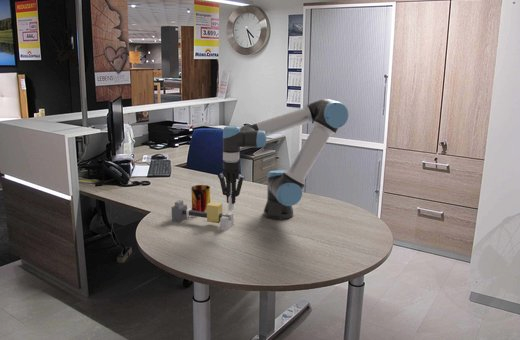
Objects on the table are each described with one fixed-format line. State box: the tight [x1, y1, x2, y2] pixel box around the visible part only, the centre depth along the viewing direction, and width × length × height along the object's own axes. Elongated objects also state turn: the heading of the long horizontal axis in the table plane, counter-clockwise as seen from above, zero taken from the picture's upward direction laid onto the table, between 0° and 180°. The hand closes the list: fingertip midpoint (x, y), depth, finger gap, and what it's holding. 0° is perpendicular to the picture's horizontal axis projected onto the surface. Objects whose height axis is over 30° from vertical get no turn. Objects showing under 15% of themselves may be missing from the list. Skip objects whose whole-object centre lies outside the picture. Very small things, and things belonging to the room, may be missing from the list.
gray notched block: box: [219, 212, 235, 232], centre depth 212 cm, size 3×8×6 cm, turn 158°
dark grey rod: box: [183, 207, 229, 220], centre depth 217 cm, size 28×4×4 cm, turn 68°
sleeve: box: [206, 201, 223, 224], centre depth 214 cm, size 6×4×8 cm
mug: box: [190, 184, 211, 212], centre depth 235 cm, size 10×14×12 cm
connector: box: [171, 199, 188, 223], centre depth 221 cm, size 5×6×9 cm
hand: (231, 209), depth 210 cm, fingers closed
